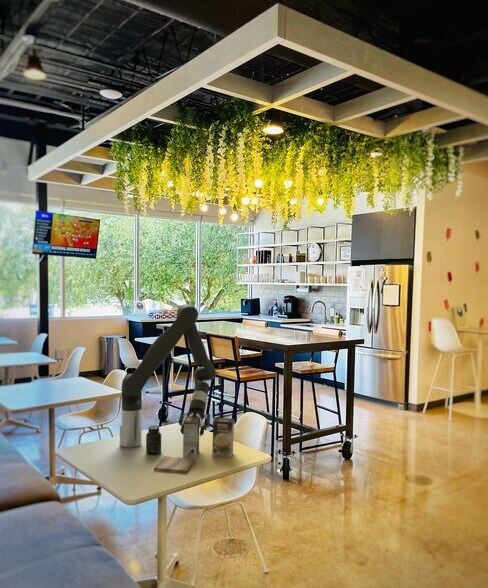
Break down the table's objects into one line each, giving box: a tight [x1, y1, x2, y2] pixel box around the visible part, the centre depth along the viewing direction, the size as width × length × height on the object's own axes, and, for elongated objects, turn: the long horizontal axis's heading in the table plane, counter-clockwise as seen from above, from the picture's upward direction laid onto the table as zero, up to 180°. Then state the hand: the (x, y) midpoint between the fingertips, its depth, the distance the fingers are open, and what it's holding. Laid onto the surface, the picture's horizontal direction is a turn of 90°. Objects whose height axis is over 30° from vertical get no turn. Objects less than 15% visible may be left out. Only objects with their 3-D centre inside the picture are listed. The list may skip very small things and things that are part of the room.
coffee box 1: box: [182, 416, 200, 459], centre depth 216 cm, size 9×6×16 cm
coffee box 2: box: [211, 416, 235, 459], centre depth 217 cm, size 9×6×16 cm
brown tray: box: [153, 455, 196, 474], centre depth 203 cm, size 14×13×1 cm
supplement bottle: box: [145, 425, 162, 456], centre depth 217 cm, size 7×7×12 cm
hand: (191, 434), depth 216 cm, fingers open, 8 cm apart
